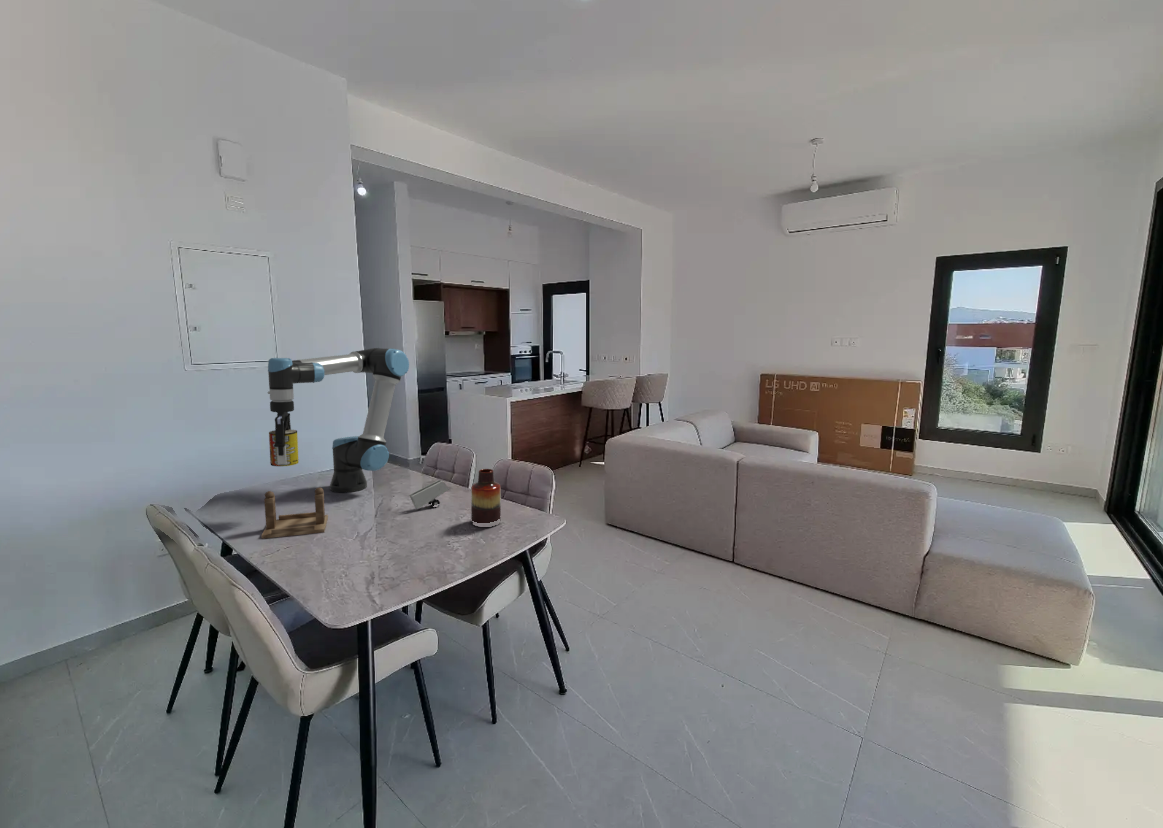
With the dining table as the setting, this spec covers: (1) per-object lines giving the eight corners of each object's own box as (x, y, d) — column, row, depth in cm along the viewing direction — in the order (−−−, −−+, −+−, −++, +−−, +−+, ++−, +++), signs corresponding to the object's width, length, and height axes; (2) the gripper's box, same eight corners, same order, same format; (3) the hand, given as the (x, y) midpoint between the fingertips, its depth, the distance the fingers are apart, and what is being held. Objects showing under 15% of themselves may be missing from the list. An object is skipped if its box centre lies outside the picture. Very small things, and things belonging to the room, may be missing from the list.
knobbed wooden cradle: (327, 517, 194) (326, 481, 191) (324, 532, 180) (322, 493, 178) (270, 523, 186) (267, 485, 184) (261, 538, 173) (258, 498, 171)
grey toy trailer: (421, 517, 204) (453, 497, 212) (412, 496, 200) (445, 477, 209) (417, 514, 207) (448, 494, 215) (408, 494, 203) (440, 475, 212)
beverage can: (267, 462, 190) (265, 431, 188) (294, 459, 196) (292, 428, 194) (274, 467, 183) (272, 434, 182) (301, 464, 190) (300, 432, 188)
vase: (506, 523, 194) (506, 470, 190) (482, 530, 186) (482, 476, 183) (488, 515, 201) (489, 465, 198) (465, 522, 193) (465, 470, 190)
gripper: (276, 397, 195) (279, 454, 198) (262, 404, 175) (266, 468, 178) (298, 397, 198) (301, 454, 201) (287, 404, 178) (290, 467, 181)
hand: (284, 460), depth 190 cm, fingers closed on beverage can, 9 cm apart
